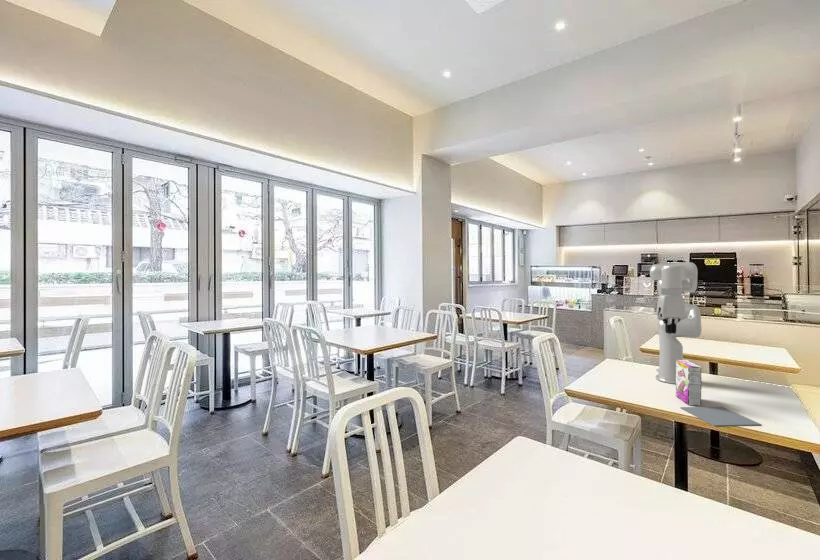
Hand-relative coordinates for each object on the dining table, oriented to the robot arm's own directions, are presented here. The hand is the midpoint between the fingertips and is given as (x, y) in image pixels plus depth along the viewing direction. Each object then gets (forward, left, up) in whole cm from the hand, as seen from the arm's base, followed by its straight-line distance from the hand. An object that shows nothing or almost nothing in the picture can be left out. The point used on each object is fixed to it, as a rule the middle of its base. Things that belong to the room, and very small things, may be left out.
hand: (670, 333), depth 170 cm
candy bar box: (+11, 0, -27) cm, 29 cm away
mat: (+27, 0, -27) cm, 38 cm away
